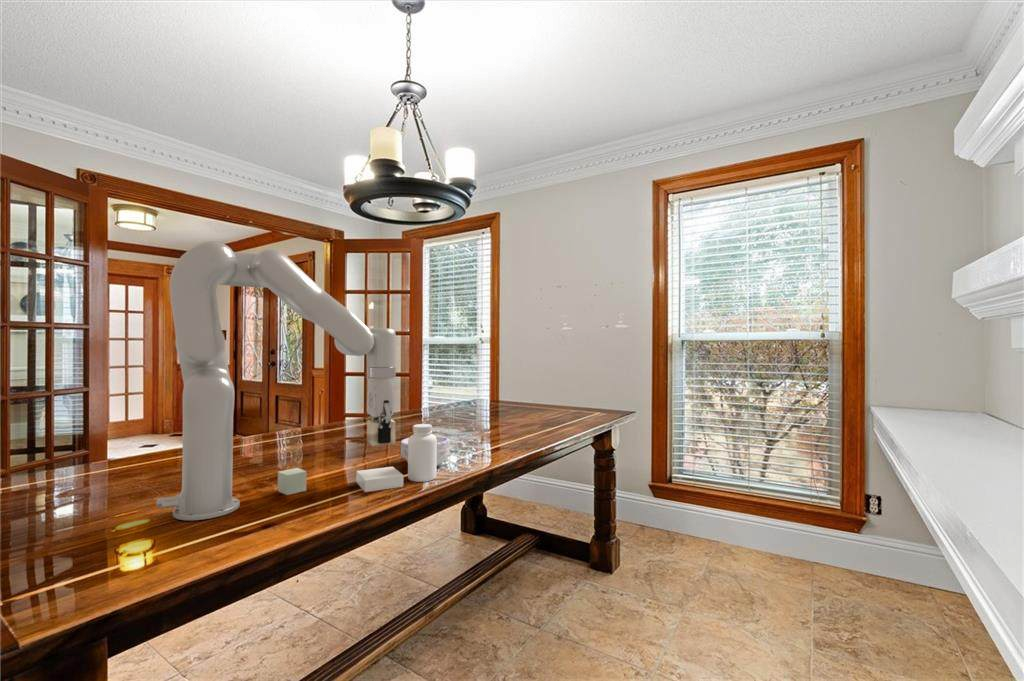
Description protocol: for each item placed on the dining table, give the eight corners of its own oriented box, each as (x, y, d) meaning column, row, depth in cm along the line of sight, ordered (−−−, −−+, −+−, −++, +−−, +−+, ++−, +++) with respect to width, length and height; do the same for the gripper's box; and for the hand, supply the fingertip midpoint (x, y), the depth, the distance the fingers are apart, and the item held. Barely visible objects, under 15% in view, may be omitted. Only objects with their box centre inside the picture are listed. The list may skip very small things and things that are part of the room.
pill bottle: (401, 479, 132) (402, 426, 132) (420, 473, 139) (420, 421, 139) (424, 484, 128) (425, 428, 128) (442, 476, 135) (442, 424, 136)
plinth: (365, 492, 121) (365, 480, 121) (356, 481, 129) (356, 470, 129) (403, 486, 126) (403, 475, 126) (392, 477, 135) (392, 466, 135)
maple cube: (372, 446, 124) (372, 423, 124) (367, 442, 129) (367, 419, 129) (395, 443, 127) (395, 421, 127) (388, 439, 132) (389, 418, 132)
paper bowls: (407, 458, 157) (407, 434, 157) (453, 459, 156) (453, 435, 156) (394, 470, 142) (394, 443, 142) (444, 471, 141) (445, 445, 141)
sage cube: (286, 495, 118) (287, 475, 118) (277, 491, 121) (277, 471, 121) (306, 490, 122) (306, 471, 122) (296, 486, 125) (297, 467, 125)
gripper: (359, 372, 133) (359, 436, 133) (375, 376, 118) (375, 448, 119) (386, 371, 137) (385, 433, 137) (404, 375, 122) (404, 445, 122)
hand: (380, 439), depth 128 cm, fingers closed on maple cube, 6 cm apart
